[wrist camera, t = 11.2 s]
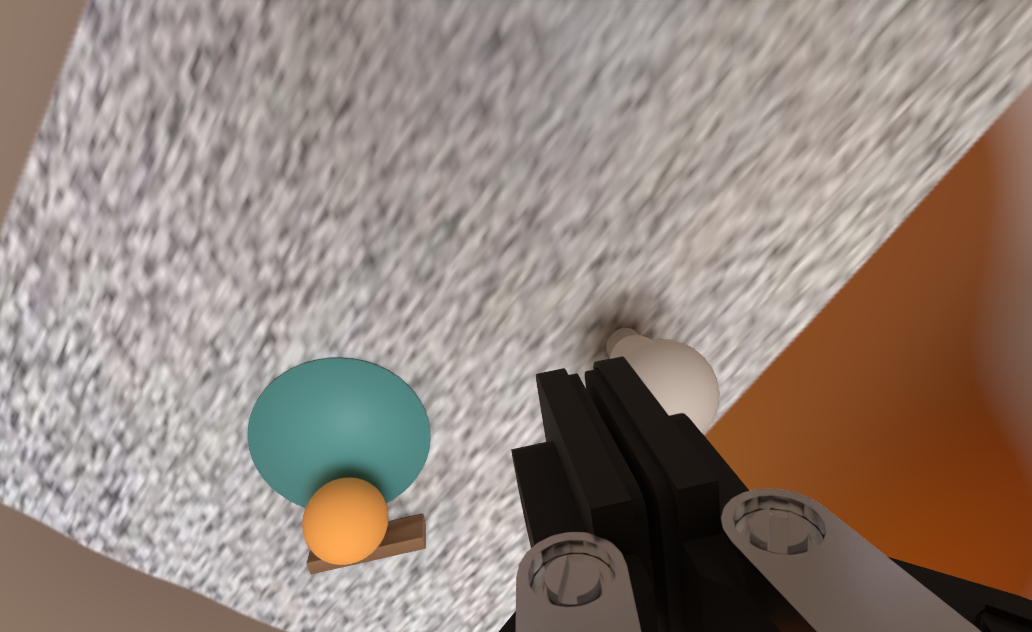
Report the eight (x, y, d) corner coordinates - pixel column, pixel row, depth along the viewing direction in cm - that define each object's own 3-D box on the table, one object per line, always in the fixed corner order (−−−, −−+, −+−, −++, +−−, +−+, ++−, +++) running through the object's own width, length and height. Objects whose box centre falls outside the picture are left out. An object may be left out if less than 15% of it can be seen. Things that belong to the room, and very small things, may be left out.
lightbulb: (594, 394, 42) (647, 488, 32) (564, 320, 40) (611, 396, 30) (673, 359, 42) (752, 442, 32) (648, 284, 40) (723, 347, 30)
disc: (223, 378, 38) (222, 379, 38) (409, 341, 39) (409, 342, 39) (279, 527, 42) (278, 529, 42) (445, 491, 43) (445, 492, 43)
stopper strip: (313, 538, 43) (306, 563, 41) (422, 513, 44) (422, 537, 41) (317, 548, 43) (310, 574, 41) (425, 524, 44) (425, 548, 42)
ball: (308, 478, 42) (284, 499, 37) (385, 462, 43) (372, 480, 37) (322, 555, 42) (300, 587, 37) (399, 538, 43) (389, 567, 37)
